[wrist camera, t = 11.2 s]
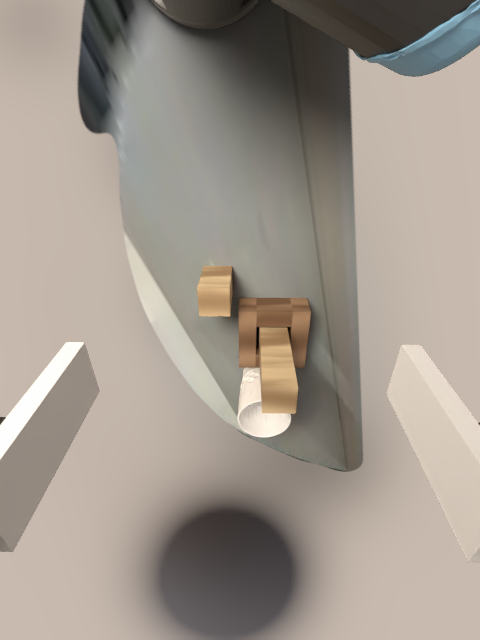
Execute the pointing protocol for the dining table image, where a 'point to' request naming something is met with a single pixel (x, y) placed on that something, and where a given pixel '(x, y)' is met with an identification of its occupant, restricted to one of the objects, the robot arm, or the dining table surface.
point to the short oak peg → (215, 291)
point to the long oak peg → (277, 371)
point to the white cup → (257, 409)
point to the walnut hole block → (273, 315)
